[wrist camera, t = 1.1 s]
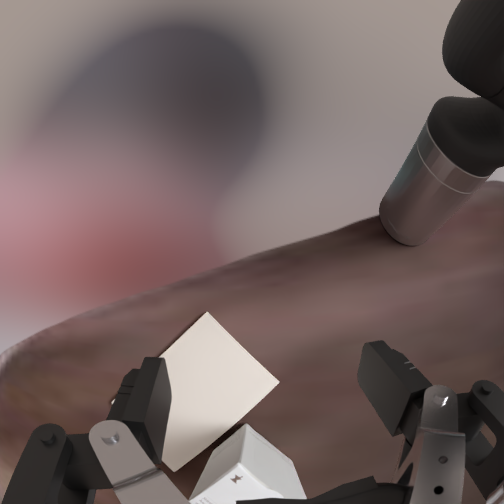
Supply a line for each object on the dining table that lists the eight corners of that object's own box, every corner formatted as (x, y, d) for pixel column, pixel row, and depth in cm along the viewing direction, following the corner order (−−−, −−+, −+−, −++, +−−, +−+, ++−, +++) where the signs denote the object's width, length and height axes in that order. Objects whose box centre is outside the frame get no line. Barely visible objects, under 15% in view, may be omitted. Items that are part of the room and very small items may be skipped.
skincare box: (213, 449, 28) (178, 499, 14) (248, 420, 30) (234, 459, 16) (262, 490, 26) (258, 556, 12) (298, 461, 27) (317, 519, 13)
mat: (208, 312, 35) (207, 311, 34) (279, 381, 31) (279, 382, 30) (114, 401, 30) (111, 402, 30) (176, 470, 27) (174, 472, 26)
